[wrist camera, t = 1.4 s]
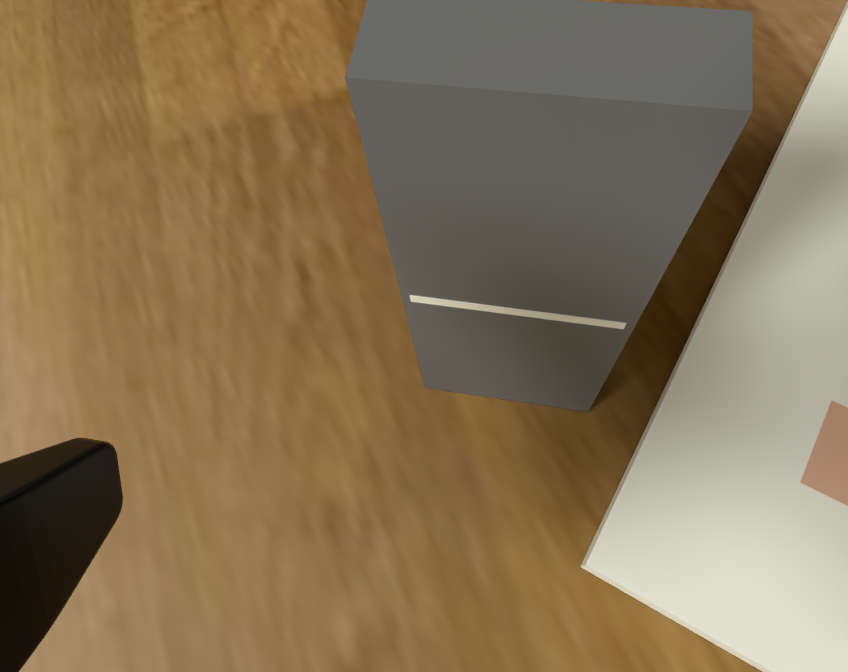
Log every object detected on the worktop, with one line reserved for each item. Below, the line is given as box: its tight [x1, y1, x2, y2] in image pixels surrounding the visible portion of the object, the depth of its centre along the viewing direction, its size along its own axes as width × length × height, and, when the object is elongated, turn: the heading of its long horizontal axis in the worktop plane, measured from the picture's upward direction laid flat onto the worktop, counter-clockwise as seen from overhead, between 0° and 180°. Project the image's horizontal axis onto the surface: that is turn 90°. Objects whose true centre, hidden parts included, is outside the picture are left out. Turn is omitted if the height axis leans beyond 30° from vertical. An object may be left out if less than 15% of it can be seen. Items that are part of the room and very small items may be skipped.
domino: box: [345, 0, 753, 412], centre depth 14 cm, size 2×5×13 cm, turn 80°
